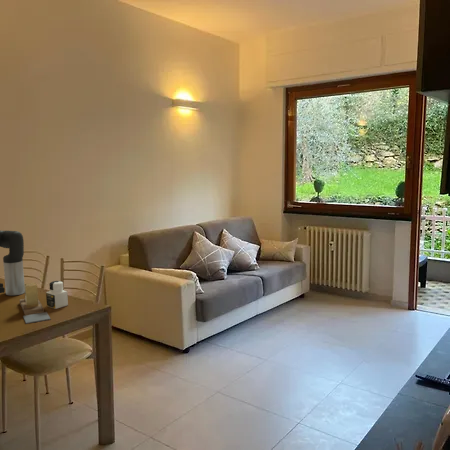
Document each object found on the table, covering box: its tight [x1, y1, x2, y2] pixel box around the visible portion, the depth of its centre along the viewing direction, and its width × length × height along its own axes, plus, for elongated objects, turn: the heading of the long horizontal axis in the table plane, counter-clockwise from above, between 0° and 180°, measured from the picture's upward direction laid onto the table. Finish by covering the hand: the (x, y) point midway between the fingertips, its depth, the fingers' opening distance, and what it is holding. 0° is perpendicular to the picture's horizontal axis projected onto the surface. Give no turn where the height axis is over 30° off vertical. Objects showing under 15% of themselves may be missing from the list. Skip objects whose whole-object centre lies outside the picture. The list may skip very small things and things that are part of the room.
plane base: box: [19, 298, 45, 316], centre depth 220 cm, size 20×8×8 cm, turn 30°
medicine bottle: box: [45, 280, 69, 310], centre depth 222 cm, size 7×7×12 cm
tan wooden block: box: [24, 282, 39, 308], centre depth 217 cm, size 5×5×10 cm
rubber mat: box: [22, 311, 51, 324], centre depth 206 cm, size 10×10×1 cm
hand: (3, 287), depth 210 cm, fingers open, 8 cm apart
